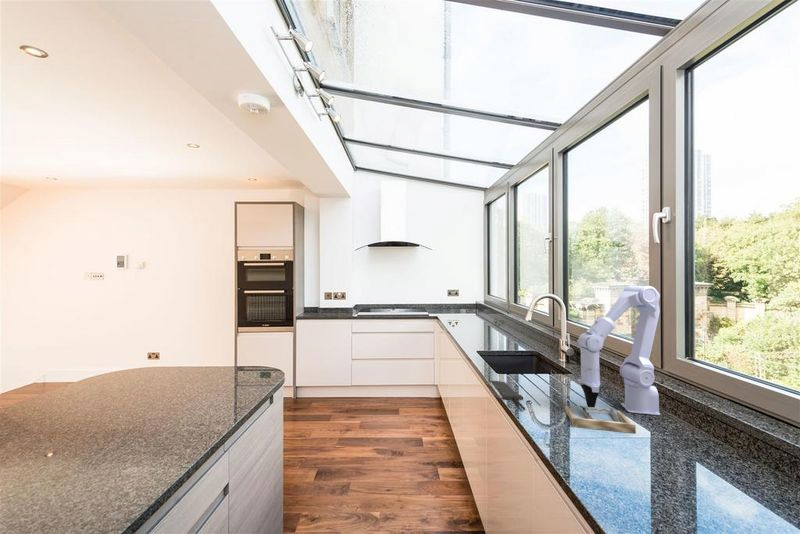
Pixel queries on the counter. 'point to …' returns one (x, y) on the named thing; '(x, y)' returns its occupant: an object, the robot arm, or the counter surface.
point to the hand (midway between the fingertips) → (590, 406)
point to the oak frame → (603, 423)
